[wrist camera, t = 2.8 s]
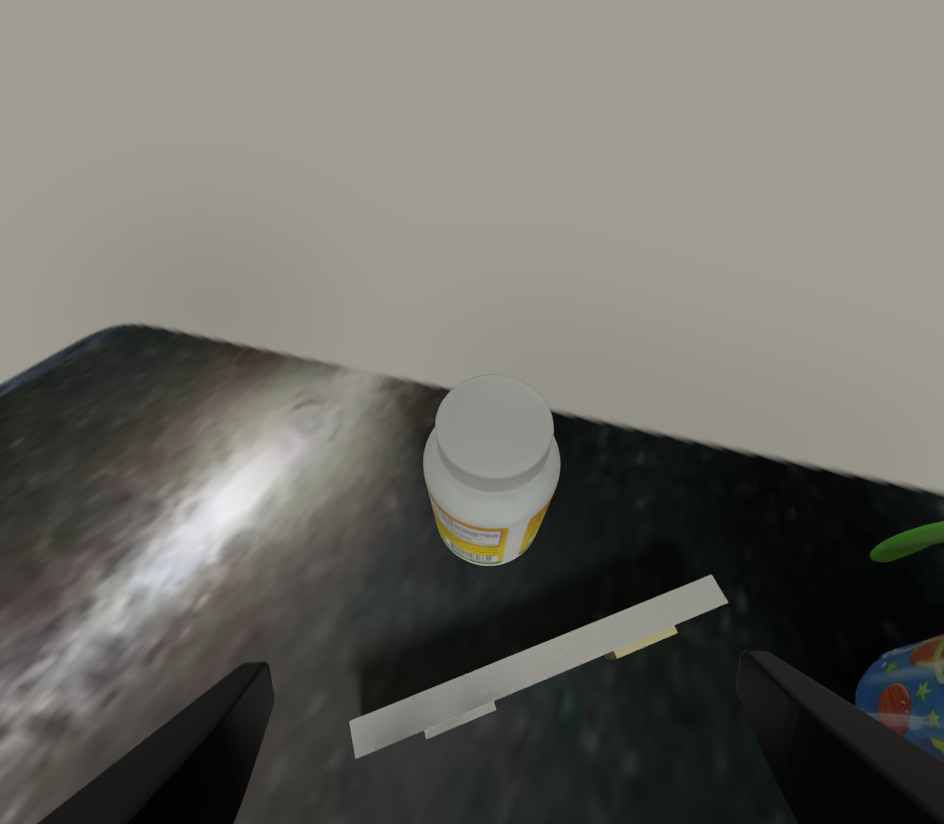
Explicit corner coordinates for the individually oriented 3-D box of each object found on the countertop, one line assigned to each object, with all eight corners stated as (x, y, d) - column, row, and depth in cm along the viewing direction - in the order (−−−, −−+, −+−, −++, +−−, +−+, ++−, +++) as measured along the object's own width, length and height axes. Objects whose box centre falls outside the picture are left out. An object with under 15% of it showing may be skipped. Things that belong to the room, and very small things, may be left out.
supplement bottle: (457, 584, 21) (441, 525, 13) (423, 486, 24) (392, 384, 16) (558, 543, 22) (604, 464, 14) (515, 453, 25) (532, 341, 17)
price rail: (692, 583, 21) (711, 574, 19) (711, 615, 20) (732, 609, 19) (361, 717, 19) (349, 721, 17) (368, 760, 18) (357, 768, 16)
